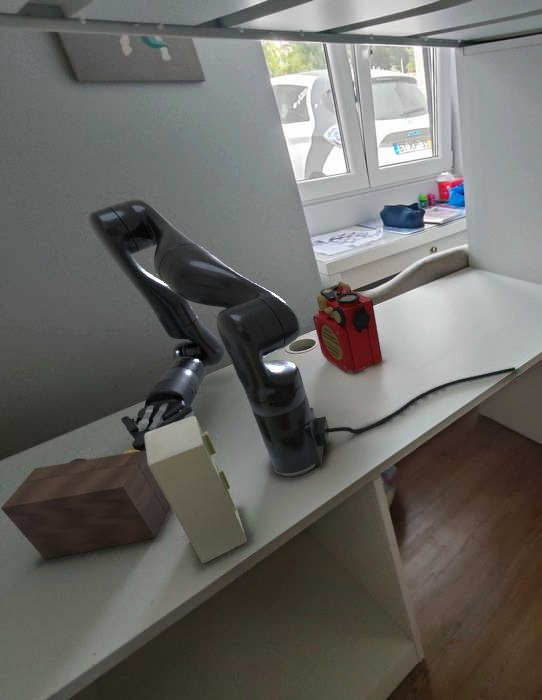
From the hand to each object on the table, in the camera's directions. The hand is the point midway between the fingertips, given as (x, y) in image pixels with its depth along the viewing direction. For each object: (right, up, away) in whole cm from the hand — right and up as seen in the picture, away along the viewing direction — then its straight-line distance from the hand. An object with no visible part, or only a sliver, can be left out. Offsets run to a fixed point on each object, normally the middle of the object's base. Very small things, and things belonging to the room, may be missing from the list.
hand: (140, 449), depth 78 cm
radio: (+28, +15, +39) cm, 50 cm away
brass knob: (+1, -4, -2) cm, 4 cm away
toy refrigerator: (+18, -13, -6) cm, 23 cm away
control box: (-2, -12, -3) cm, 12 cm away
